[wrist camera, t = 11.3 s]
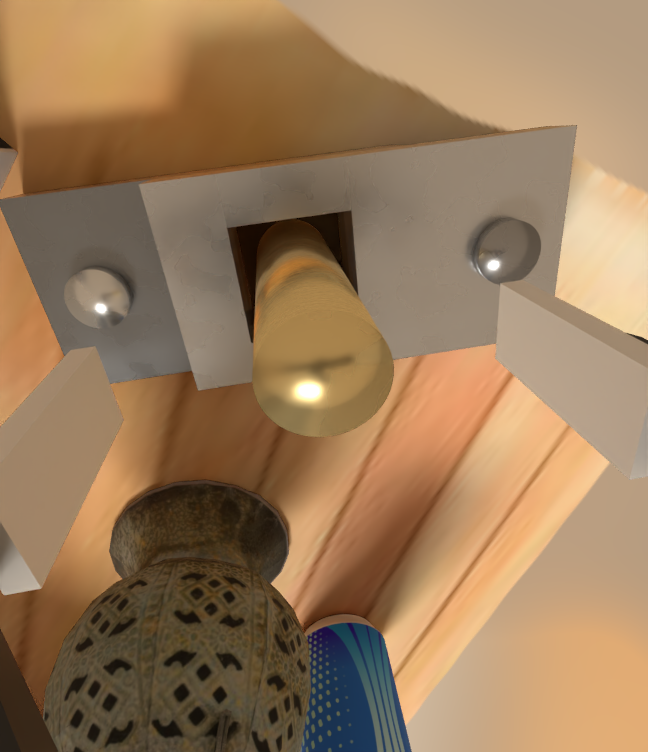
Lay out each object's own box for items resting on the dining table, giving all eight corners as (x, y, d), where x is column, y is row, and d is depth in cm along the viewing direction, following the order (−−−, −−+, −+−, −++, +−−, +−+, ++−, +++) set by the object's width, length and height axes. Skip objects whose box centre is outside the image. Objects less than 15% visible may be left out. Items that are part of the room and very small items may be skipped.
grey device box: (93, 368, 28) (54, 420, 23) (22, 194, 23) (-46, 210, 18) (505, 305, 29) (557, 340, 24) (520, 127, 24) (588, 124, 19)
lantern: (66, 526, 33) (-324, 1298, 11) (234, 440, 31) (167, 1153, 9) (182, 624, 40) (81, 1234, 18) (326, 557, 38) (414, 1141, 16)
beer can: (326, 598, 40) (360, 846, 26) (399, 622, 43) (465, 858, 29) (276, 651, 43) (283, 903, 29) (348, 671, 46) (386, 908, 32)
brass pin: (263, 294, 27) (265, 447, 14) (251, 224, 25) (239, 323, 12) (330, 284, 27) (396, 425, 14) (322, 214, 25) (390, 300, 12)
